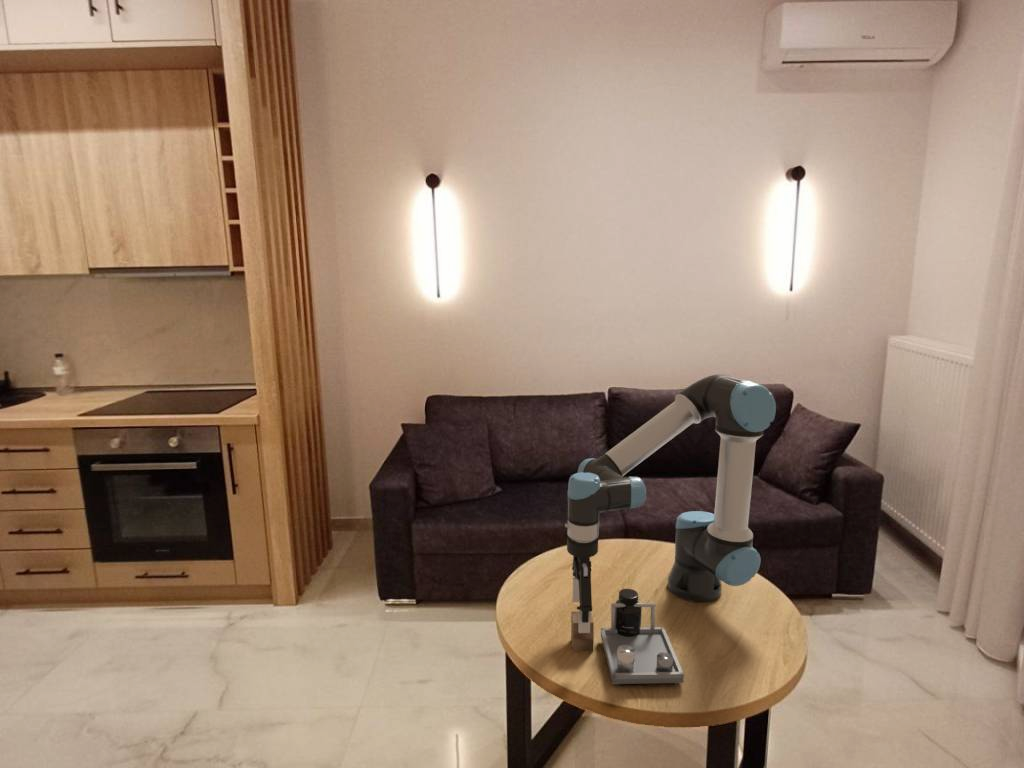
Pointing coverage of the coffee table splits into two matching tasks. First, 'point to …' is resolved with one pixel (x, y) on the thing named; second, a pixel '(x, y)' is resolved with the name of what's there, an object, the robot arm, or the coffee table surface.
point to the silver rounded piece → (625, 659)
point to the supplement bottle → (628, 614)
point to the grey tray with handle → (640, 652)
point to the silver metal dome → (664, 662)
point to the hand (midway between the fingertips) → (580, 616)
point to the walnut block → (581, 635)
